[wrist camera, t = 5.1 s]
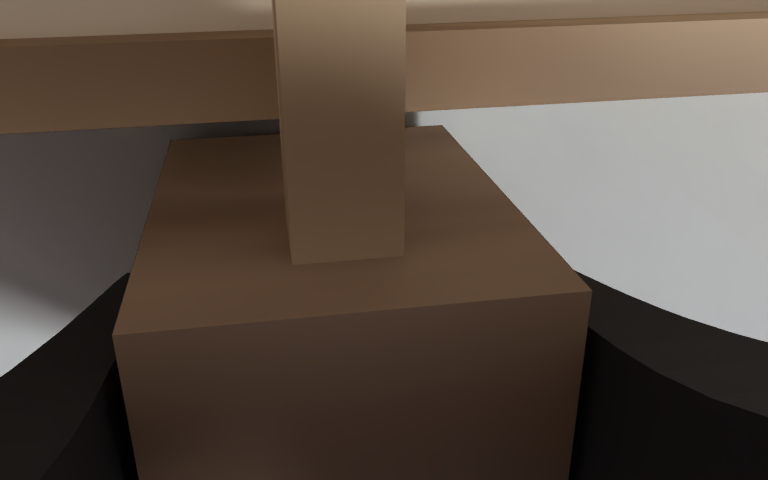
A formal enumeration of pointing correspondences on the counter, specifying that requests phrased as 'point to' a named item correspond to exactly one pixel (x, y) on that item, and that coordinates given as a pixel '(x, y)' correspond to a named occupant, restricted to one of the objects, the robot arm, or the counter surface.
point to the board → (423, 57)
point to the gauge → (345, 290)
